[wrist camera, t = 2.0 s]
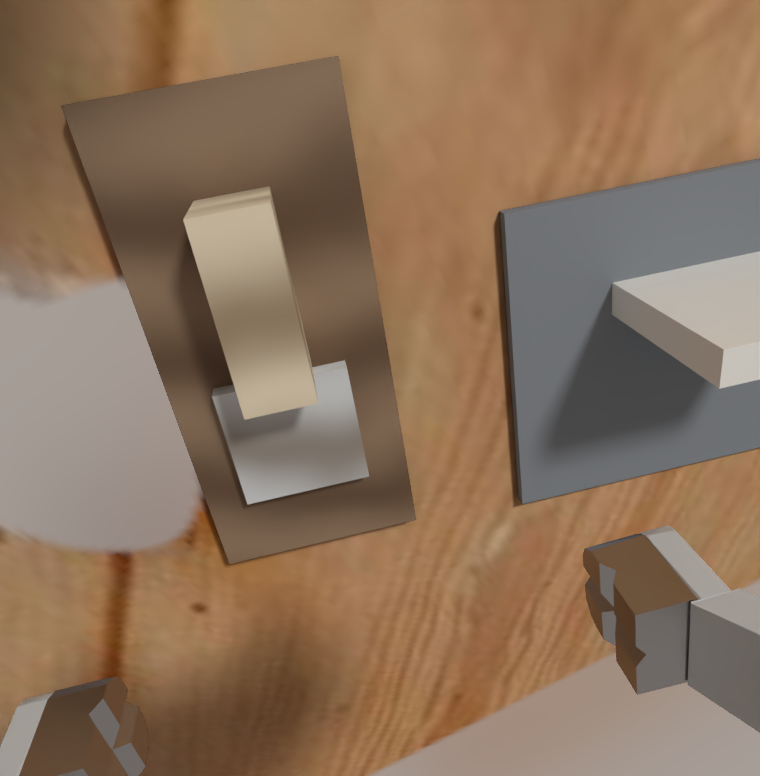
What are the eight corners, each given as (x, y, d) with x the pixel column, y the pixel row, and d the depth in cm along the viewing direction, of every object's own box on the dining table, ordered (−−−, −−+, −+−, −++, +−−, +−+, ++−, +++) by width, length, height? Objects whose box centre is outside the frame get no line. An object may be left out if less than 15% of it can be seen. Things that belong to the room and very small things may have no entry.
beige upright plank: (154, 208, 24) (138, 228, 21) (307, 178, 24) (313, 194, 21) (247, 494, 30) (246, 541, 27) (366, 467, 31) (378, 510, 28)
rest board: (68, 104, 23) (61, 105, 22) (335, 56, 24) (338, 55, 23) (230, 550, 33) (229, 564, 32) (412, 508, 34) (416, 519, 33)
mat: (499, 211, 27) (504, 213, 27) (875, 135, 29) (886, 136, 28) (518, 497, 35) (522, 504, 34) (815, 427, 36) (823, 432, 36)
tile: (612, 282, 29) (723, 349, 22) (770, 248, 30) (929, 303, 23) (611, 317, 30) (718, 392, 23) (765, 283, 30) (917, 346, 23)
